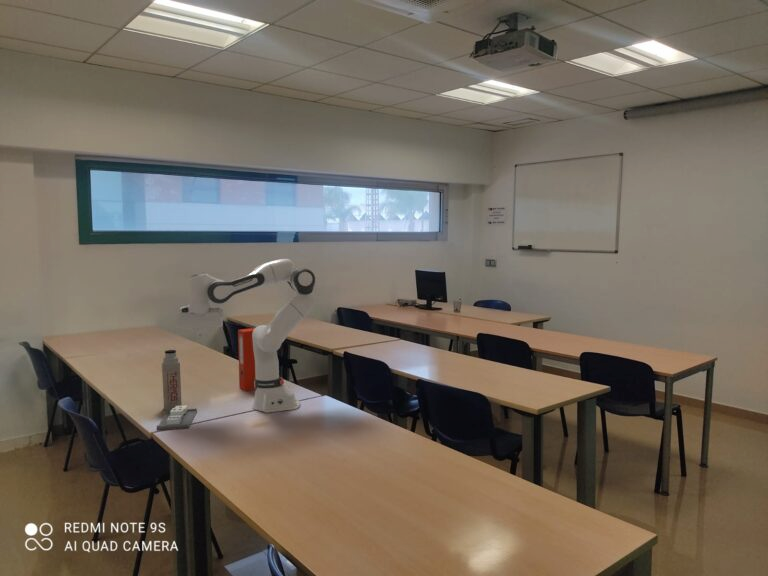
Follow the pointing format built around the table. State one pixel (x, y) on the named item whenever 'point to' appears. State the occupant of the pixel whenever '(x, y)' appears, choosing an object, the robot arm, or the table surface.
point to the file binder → (246, 359)
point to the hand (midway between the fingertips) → (200, 337)
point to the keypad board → (184, 423)
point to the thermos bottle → (171, 380)
